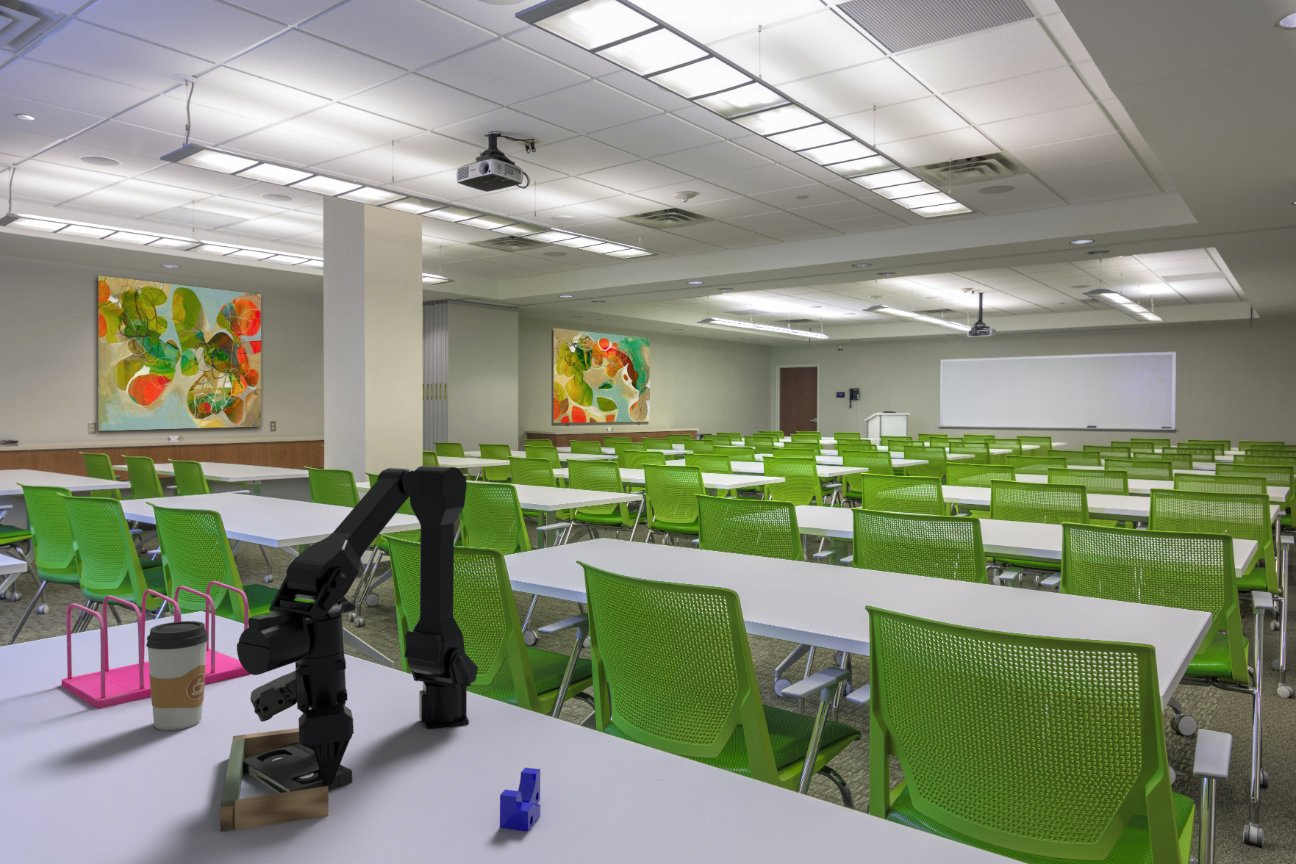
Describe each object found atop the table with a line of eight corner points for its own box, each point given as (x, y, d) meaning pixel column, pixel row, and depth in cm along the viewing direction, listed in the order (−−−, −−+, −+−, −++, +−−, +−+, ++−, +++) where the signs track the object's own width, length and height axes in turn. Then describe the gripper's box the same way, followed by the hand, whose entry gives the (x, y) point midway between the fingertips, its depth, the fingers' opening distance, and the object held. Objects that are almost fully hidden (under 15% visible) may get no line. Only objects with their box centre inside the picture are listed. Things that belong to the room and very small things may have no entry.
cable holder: (528, 832, 99) (528, 798, 99) (499, 829, 100) (500, 795, 100) (551, 802, 107) (551, 770, 107) (524, 799, 108) (525, 767, 108)
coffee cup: (182, 737, 126) (181, 635, 126) (133, 732, 128) (132, 632, 128) (221, 717, 135) (220, 621, 134) (174, 713, 136) (174, 618, 136)
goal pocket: (322, 745, 124) (322, 725, 124) (328, 816, 102) (328, 791, 102) (233, 757, 119) (233, 735, 119) (220, 833, 98) (220, 807, 98)
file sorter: (253, 675, 156) (253, 589, 156) (98, 712, 137) (97, 613, 137) (210, 657, 167) (210, 576, 167) (60, 688, 148) (59, 597, 148)
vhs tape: (240, 774, 115) (240, 759, 115) (297, 756, 121) (297, 742, 121) (293, 806, 106) (293, 790, 106) (352, 785, 112) (352, 770, 112)
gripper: (255, 642, 118) (260, 755, 119) (250, 682, 101) (256, 814, 101) (341, 631, 122) (346, 740, 123) (351, 668, 105) (356, 794, 106)
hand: (326, 770), depth 113 cm, fingers open, 9 cm apart
